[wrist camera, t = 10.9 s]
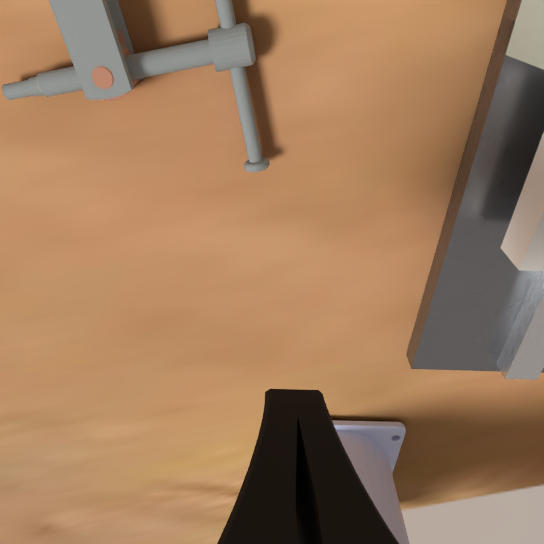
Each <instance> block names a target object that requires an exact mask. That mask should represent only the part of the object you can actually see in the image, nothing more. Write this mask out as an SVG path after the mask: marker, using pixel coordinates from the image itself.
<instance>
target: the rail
mask: <svg viewBox="0 0 544 544" xmlns="http://www.w3.org/2000/svg"><path fill="white" fill-rule="evenodd" d="M521 1H522V0H507V3H506V7H505V10H504V14H503V17H502V21H501V24H500V28H499V31H498V35H497V38H496V42H495V46H494V49H493V53H492V56H491V60H490V63H489V67H488V70H487V74H486V77H485V81H484V84H483V88H482V91H481V95H480V98H479V102H478V105H477V109H476V112H475V116H474V119H473V123H472V126H471V130H470V133H469V137H468V140H467V144H466V147H465V151H464V154H463V158H462V161H461V165H460V168H459V172H458V175H457V179H456V182H455V186H454V189H453V193H452V196H451V200H450V203H449V207H448V210H447V214H446V217H445V221H444V225H443V228H442V232H441V235H440V239H439V242H438V246H437V249H436V253H435V256H434V260H433V263H432V267H431V270H430V274H429V277H428V281H427V284H426V288H425V291H424V295H423V298H422V302H421V305H420V309H419V312H418V316H417V319H416V323H415V326H414V330H413V333H412V337H411V340H410V344H409V347H408V351H407V354H406V355H407V358H408V361H409V364H410V366H411V369H438V370H473V371H501V373H502V375H503V376H504V378H505V379H532V380H537V379H538V377H539V375H540V373H541V372H543V373H544V271H520V270H518V269H517V267H516V266H515V265H514V264H513V263H512V261H511V260H510V259H509V258H508V257H507V255H506V254H505V253H504V252H503V250H502V249H501V245H502V242H503V240H504V237H505V234H506V232H507V229H508V226H509V224H510V221H511V218H512V216H513V213H514V210H515V208H516V205H517V202H518V199H519V197H520V194H521V191H522V189H523V186H524V183H525V181H526V178H527V175H528V173H529V170H530V167H531V164H532V162H533V159H534V156H535V154H536V151H537V148H538V146H539V143H540V140H541V138H542V135H543V132H544V70H543V69H541V68H538V67H536V66H533V65H530V64H528V63H525V62H523V61H520V60H517V59H515V58H512V57H510V56H507V55H506V51H507V48H508V45H509V41H510V38H511V34H512V31H513V27H514V25H515V21H516V18H517V14H518V11H519V8H520V4H521Z"/></svg>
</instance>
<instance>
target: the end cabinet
mask: <svg viewBox="0 0 544 544" xmlns="http://www.w3.org/2000/svg"><path fill="white" fill-rule="evenodd" d="M506 55H507V56H510V57H512V58H515V59H517V60H520V61H523V62H525V63H528V64H530V65H533V66H536V67H538V68H541V69H543V70H544V0H522V1H521V4H520V8H519V11H518V14H517V18H516V21H515V25H514V27H513V31H512V34H511V38H510V41H509V45H508V48H507V51H506Z"/></svg>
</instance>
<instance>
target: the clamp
mask: <svg viewBox="0 0 544 544" xmlns="http://www.w3.org/2000/svg"><path fill="white" fill-rule="evenodd" d="M215 2H216V7H217V12H218V16H219V21H220V26H221V27H220V28H215V29H210V30H208V39H206V40H201V41H196V42H191V43H186V44H181V45H176V46H171V47H166V48H161V49H156V50H151V51H146V52H141V53H136V54H135V53H134V49H133V46H132V43H131V40H130V37H129V33H128V30H127V27H126V24H125V21H124V17H123V14H122V11H121V8H120V5H119V1H118V0H49V3H50V5H51V8H52V10H53V13H54V16H55V18H56V21H57V23H58V26H59V29H60V31H61V34H62V36H63V39H64V42H65V44H66V47H67V49H68V52H69V55H70V57H71V60H72V62H73V65H74V66H72V67H67V68H62V69H57V70H52V71H47V72H42V73H38V75H37V76H36V77H31V78H29V79H28V80H24V81H19V82H14V83H9V84H4V85H3V86H2V91H3V94H4V96H5V97H6V98H7V99H8V100H13V99H18V98H23V97H28V96H33V95H34V96H41V95H45V96H47V97H49V96H54V95H59V94H64V93H69V92H74V91H79V90H83V91H84V94H85V96H86V99H94V100H98V99H104V100H109V101H113V100H118V99H120V98H122V97H123V96H125V95H126V94H127V93H128V92H129V91H131V90H132V89H134V86H135V85H136V84H137V82H139V81H141V80H143V78H145V77H150V76H155V75H161V74H166V73H171V72H176V71H181V70H186V69H191V68H196V67H201V66H206V65H211V64H214V66H215V69H216V71H217V72H219V71H224V70H230V73H231V78H232V82H233V87H234V92H235V97H236V101H237V106H238V111H239V116H240V120H241V125H242V130H243V135H244V139H245V144H246V149H247V153H248V158H249V160H248V161H246V162H245V164H244V168H245V170H247V171H248V172H259V171H262V170H264V169H266V168H267V167H268V166H269V160H268V159H267V158H265V157H262V153H261V148H260V143H259V138H258V132H257V127H256V122H255V117H254V112H253V107H252V102H251V97H250V91H249V86H248V81H247V76H246V71H245V66H250V65H253V64H254V62H255V61H256V55H255V48H254V42H253V37H252V32H251V28H250V26H249V25H248V24H247V23H240V24H236V20H235V14H234V9H233V4H232V0H215Z"/></svg>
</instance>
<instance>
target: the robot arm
mask: <svg viewBox="0 0 544 544" xmlns="http://www.w3.org/2000/svg"><path fill="white" fill-rule="evenodd" d="M405 433H406V429H405V426H404V424H403V423H401V422H380V421H339V420H331V417H330V415H329V412H328V409H327V407H326V404H325V401H324V398H323V394H322V393H321V392H320V391H319V390H292V389H269V390H268V391H266V392H265V406H264V413H263V419H262V423H261V427H260V431H259V436H258V439H257V443H256V446H255V449H254V452H253V456H252V459H251V462H250V465H249V468H248V471H247V474H246V476H245V479H244V482H243V484H242V487H241V490H240V492H239V495H238V497H237V500H236V503H235V505H234V507H233V510H232V512H231V514H230V517H229V519H228V521H227V524H226V526H225V528H224V530H223V532H222V535H221V537H220V539H219V541H218V543H217V544H409V540H408V536H407V532H406V528H405V524H404V520H403V516H402V512H401V508H400V504H399V500H398V496H397V492H396V488H395V484H394V479H393V475H392V474H393V470H394V467H395V464H396V461H397V458H398V455H399V452H400V449H401V446H402V443H403V440H404V437H405Z"/></svg>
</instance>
